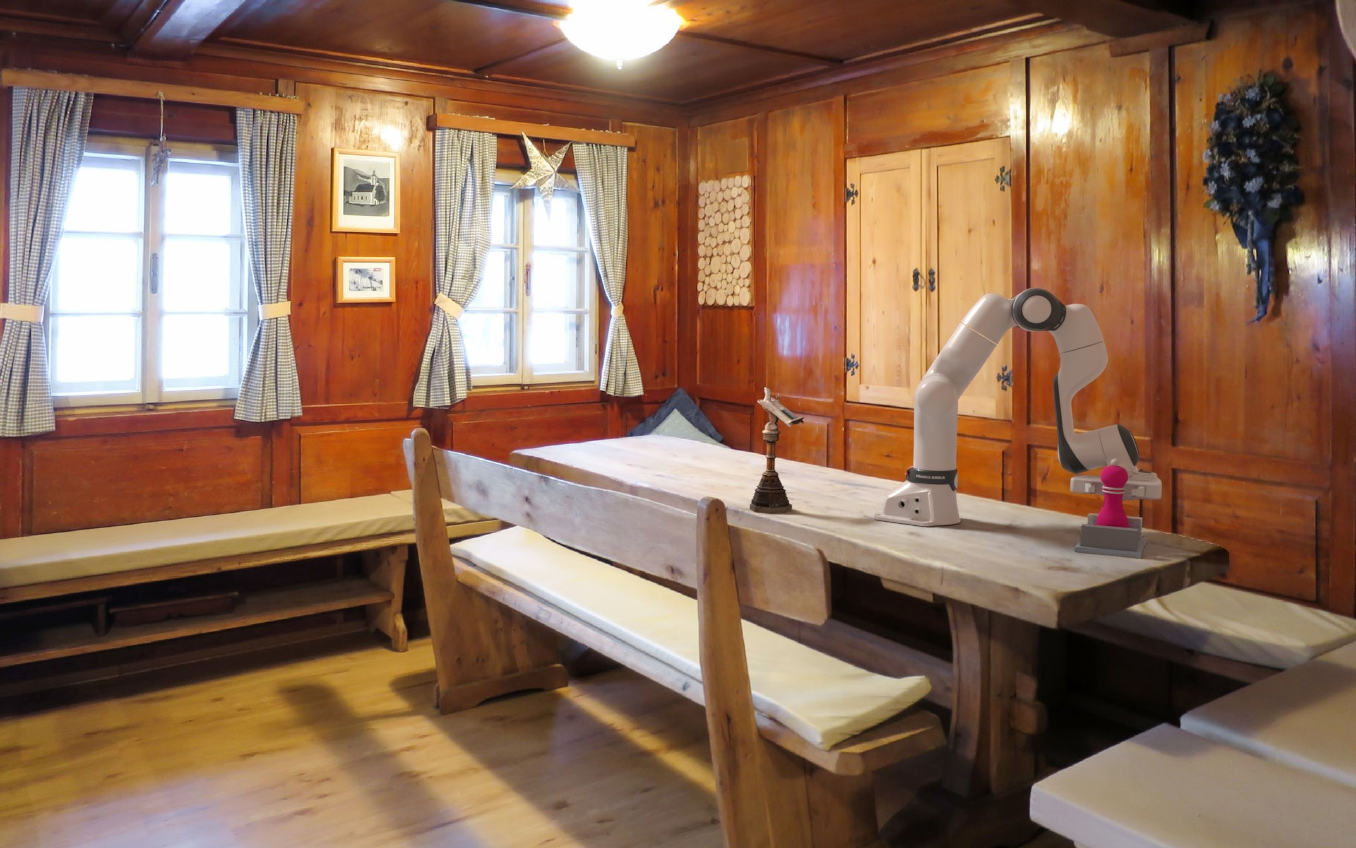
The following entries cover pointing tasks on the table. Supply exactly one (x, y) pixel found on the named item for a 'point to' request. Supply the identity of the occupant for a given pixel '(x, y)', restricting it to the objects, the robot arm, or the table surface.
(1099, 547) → the vise
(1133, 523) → the sliding jaw
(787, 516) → the table surface
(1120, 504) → the pepper mill
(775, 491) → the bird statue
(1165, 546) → the table surface
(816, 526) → the table surface
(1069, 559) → the table surface
